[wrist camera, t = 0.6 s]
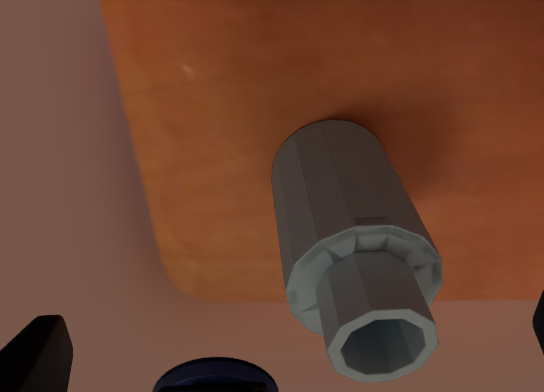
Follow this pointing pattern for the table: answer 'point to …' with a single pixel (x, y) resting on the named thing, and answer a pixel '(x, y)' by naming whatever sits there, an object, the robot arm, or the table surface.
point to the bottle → (355, 252)
